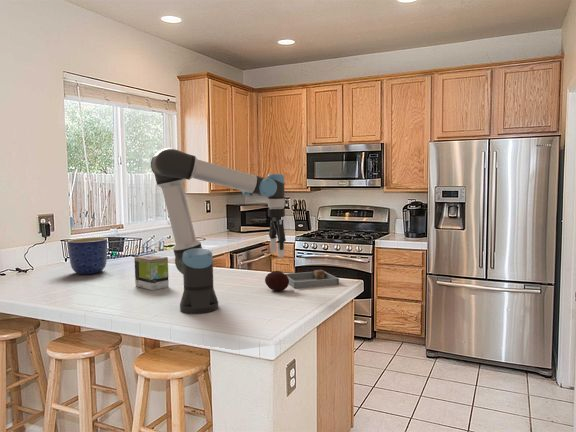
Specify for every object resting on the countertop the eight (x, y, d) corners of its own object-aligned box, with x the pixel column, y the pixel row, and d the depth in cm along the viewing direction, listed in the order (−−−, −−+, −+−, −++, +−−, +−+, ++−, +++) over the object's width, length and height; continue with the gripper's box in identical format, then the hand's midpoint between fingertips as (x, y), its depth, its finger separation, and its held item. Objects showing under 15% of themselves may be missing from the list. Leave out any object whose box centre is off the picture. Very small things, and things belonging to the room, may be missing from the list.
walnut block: (316, 279, 234) (316, 271, 233) (314, 278, 238) (314, 270, 237) (324, 279, 235) (324, 271, 235) (321, 277, 239) (321, 269, 238)
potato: (283, 294, 208) (283, 273, 207) (261, 291, 214) (260, 271, 213) (293, 290, 216) (292, 270, 215) (271, 287, 221) (270, 268, 221)
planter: (95, 268, 280) (94, 236, 278) (116, 271, 268) (114, 238, 266) (61, 274, 263) (60, 240, 262) (82, 278, 251) (80, 243, 250)
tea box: (169, 287, 227) (168, 256, 225) (151, 290, 219) (149, 259, 218) (153, 282, 237) (151, 253, 236) (134, 286, 230) (133, 256, 228)
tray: (294, 289, 216) (294, 282, 216) (282, 280, 235) (282, 274, 235) (338, 285, 222) (338, 278, 222) (323, 277, 241) (323, 270, 241)
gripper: (292, 209, 201) (292, 258, 202) (277, 206, 225) (278, 250, 226) (275, 210, 199) (276, 259, 200) (262, 207, 223) (263, 251, 224)
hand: (277, 254), depth 213 cm, fingers open, 13 cm apart
